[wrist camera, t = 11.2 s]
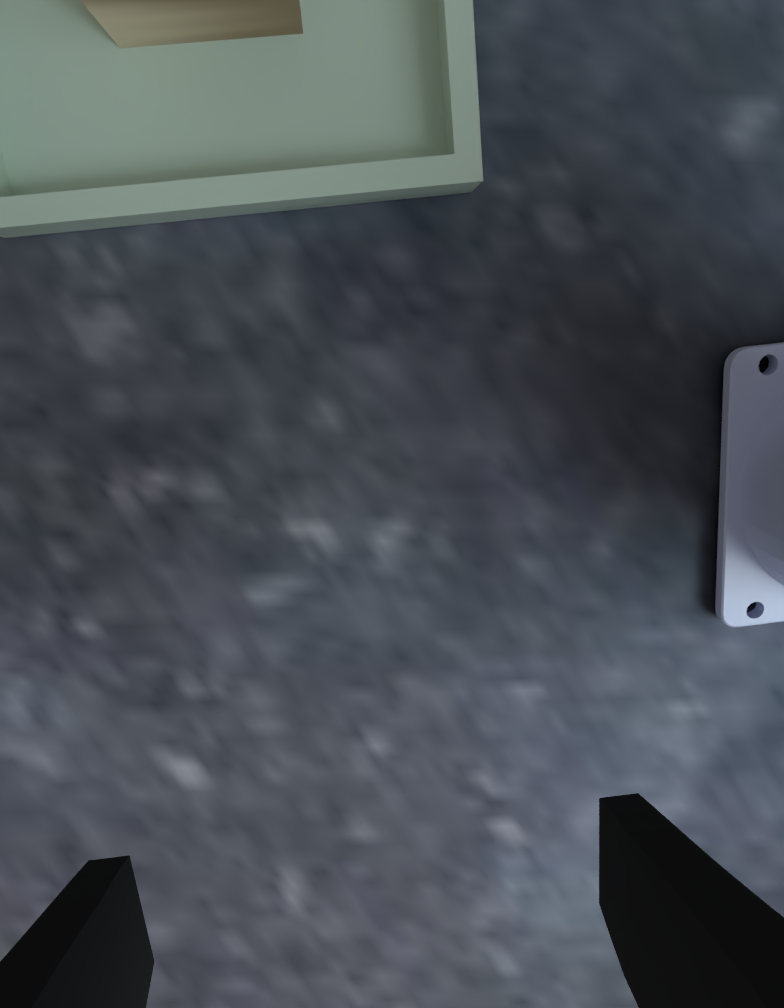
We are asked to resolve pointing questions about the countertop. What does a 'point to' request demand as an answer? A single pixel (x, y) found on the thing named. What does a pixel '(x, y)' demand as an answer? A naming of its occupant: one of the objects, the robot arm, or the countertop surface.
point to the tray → (233, 116)
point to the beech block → (194, 20)
